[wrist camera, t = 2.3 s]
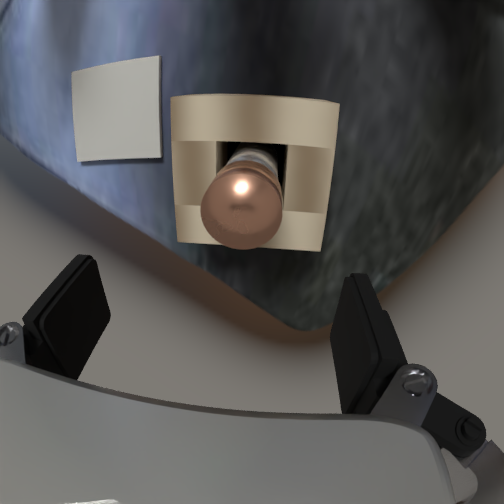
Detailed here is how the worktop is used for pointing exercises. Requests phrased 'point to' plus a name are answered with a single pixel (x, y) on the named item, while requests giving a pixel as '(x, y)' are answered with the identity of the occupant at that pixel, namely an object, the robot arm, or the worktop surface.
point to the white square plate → (118, 110)
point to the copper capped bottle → (244, 198)
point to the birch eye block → (262, 131)
